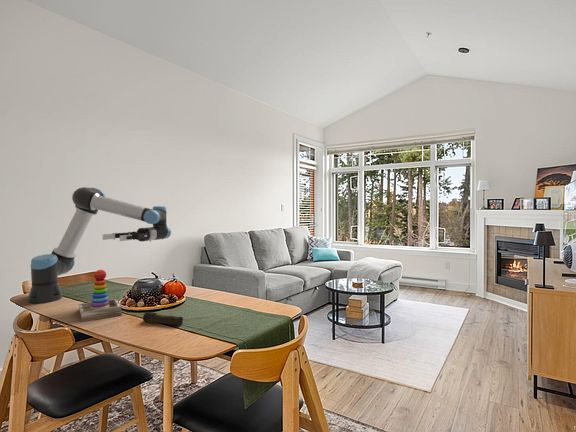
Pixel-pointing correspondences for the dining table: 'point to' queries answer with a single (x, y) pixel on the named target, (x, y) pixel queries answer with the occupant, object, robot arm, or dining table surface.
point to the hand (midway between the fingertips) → (111, 237)
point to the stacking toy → (99, 291)
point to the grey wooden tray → (99, 311)
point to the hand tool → (162, 319)
